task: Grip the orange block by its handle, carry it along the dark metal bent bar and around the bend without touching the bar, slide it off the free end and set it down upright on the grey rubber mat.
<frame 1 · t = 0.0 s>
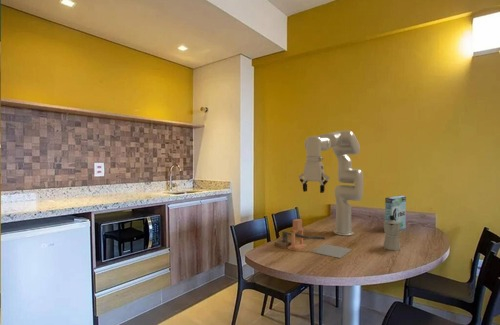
hand: (313, 192, 153), 31 cm above the table, tool pointing down, fingers open, 9 cm apart
coffee maker: (391, 248, 158), on the table
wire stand: (284, 245, 163), on the table
mat: (332, 251, 152), on the table
gum box: (395, 230, 198), on the table
orange block: (297, 247, 158), on the table
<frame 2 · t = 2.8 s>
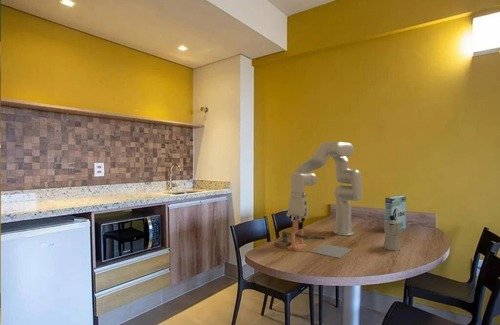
hand: (297, 228, 158), 11 cm above the table, tool pointing down, fingers closed on orange block, 3 cm apart
orange block: (297, 247, 158), on the table, touching gripper
everything else where it was.
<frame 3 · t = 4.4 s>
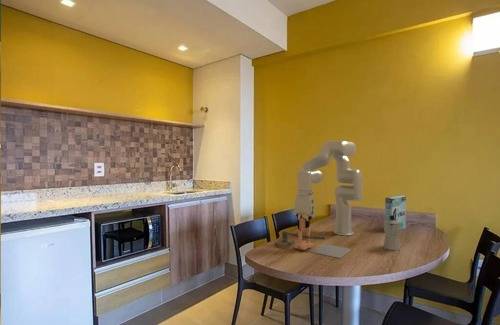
hand: (304, 227, 155), 12 cm above the table, tool pointing down, fingers closed on orange block, 3 cm apart
orange block: (304, 246, 156), point 1 cm above the table, touching gripper
everything else where it was.
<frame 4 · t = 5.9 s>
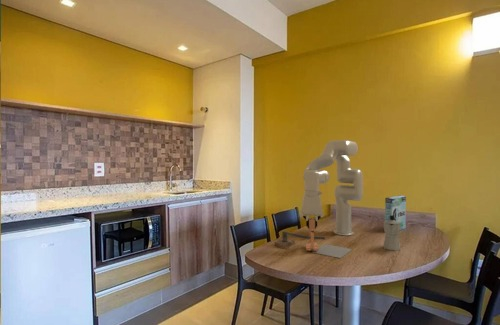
hand: (311, 227, 154), 12 cm above the table, tool pointing down, fingers closed on orange block, 3 cm apart
orange block: (311, 247, 154), point 1 cm above the table, touching gripper
everything else where it was.
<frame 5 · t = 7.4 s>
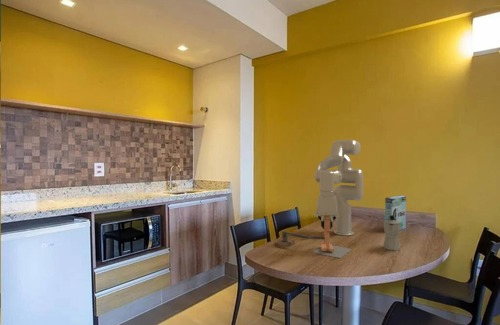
hand: (326, 228, 153), 12 cm above the table, tool pointing down, fingers closed on orange block, 3 cm apart
orange block: (326, 248, 153), point 1 cm above the table, touching gripper
everything else where it was.
when the fingers open (11 cm above the table, at t = 8.8 s): orange block stays where it is, resting on mat.
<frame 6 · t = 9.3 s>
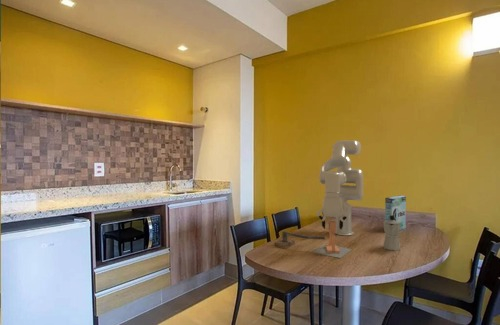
hand: (332, 228, 152), 12 cm above the table, tool pointing down, fingers open, 8 cm apart
orange block: (332, 249, 153), resting on mat
everything else where it was.
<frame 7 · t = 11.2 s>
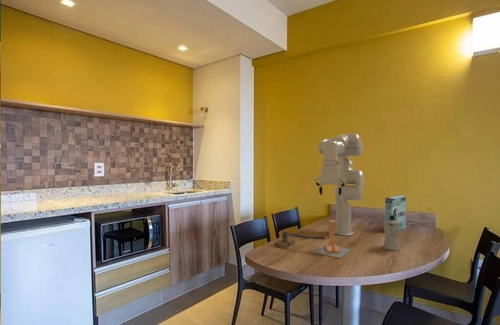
hand: (330, 194, 158), 29 cm above the table, tool pointing down, fingers open, 9 cm apart
nothing on the table moved.
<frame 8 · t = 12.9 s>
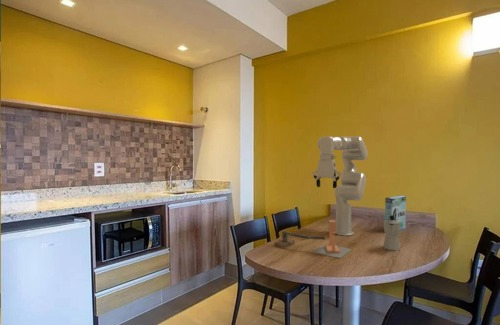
hand: (326, 187, 166), 32 cm above the table, tool pointing down, fingers open, 9 cm apart
nothing on the table moved.
at the end: orange block inside the target area (0.3 cm from its centre), resting on mat; orange block touching mat; orange block tilted 0° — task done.
